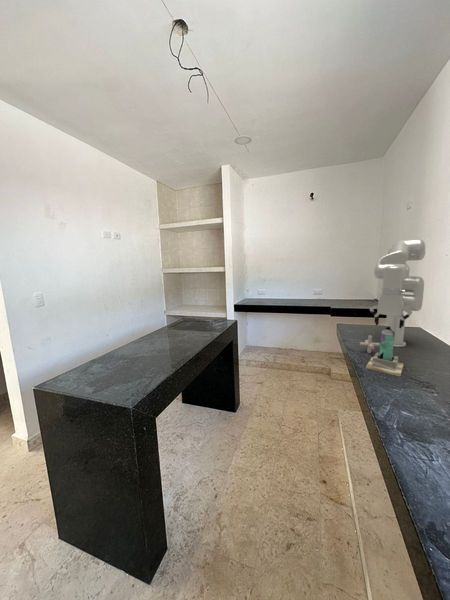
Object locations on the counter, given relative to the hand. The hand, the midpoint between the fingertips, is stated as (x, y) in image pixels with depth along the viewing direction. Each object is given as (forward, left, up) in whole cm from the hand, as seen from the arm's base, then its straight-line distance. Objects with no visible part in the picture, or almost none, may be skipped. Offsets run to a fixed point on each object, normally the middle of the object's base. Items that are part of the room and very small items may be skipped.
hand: (388, 326), depth 119 cm
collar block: (+1, 0, -21) cm, 21 cm away
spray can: (0, 0, -20) cm, 20 cm away
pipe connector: (-15, -10, -22) cm, 28 cm away
